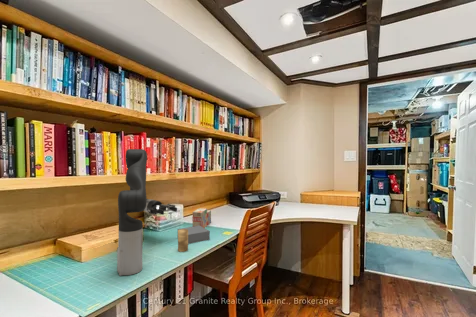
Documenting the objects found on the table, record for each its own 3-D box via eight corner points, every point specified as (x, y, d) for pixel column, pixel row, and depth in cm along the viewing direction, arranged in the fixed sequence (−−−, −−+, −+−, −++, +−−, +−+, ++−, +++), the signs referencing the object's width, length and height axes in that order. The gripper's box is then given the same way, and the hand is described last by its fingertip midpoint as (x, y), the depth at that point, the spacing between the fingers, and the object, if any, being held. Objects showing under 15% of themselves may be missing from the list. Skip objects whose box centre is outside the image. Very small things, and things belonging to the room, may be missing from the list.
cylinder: (180, 252, 122) (180, 232, 122) (176, 249, 126) (176, 230, 126) (189, 250, 125) (189, 230, 125) (185, 247, 129) (185, 228, 129)
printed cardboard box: (203, 222, 182) (203, 205, 182) (211, 222, 180) (211, 206, 181) (192, 230, 161) (192, 211, 161) (201, 231, 159) (201, 212, 160)
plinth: (186, 244, 134) (186, 235, 134) (177, 237, 146) (177, 229, 146) (209, 239, 142) (209, 230, 142) (199, 233, 154) (199, 225, 154)
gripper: (141, 201, 136) (158, 206, 126) (163, 198, 147) (180, 202, 138) (141, 215, 136) (158, 220, 126) (162, 210, 148) (180, 215, 138)
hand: (170, 211), depth 132 cm, fingers open, 8 cm apart
